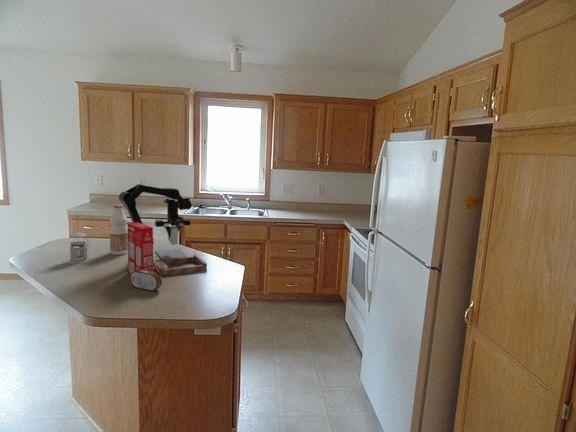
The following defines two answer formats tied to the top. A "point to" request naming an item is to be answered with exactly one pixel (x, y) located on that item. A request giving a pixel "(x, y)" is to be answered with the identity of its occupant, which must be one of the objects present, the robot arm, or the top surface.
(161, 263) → the offcut stack
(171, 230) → the panel
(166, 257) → the mat
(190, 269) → the brown rectangular shallow frame
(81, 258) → the french press
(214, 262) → the top surface
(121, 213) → the fruit juice
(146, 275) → the tin
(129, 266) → the food packaging
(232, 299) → the top surface
